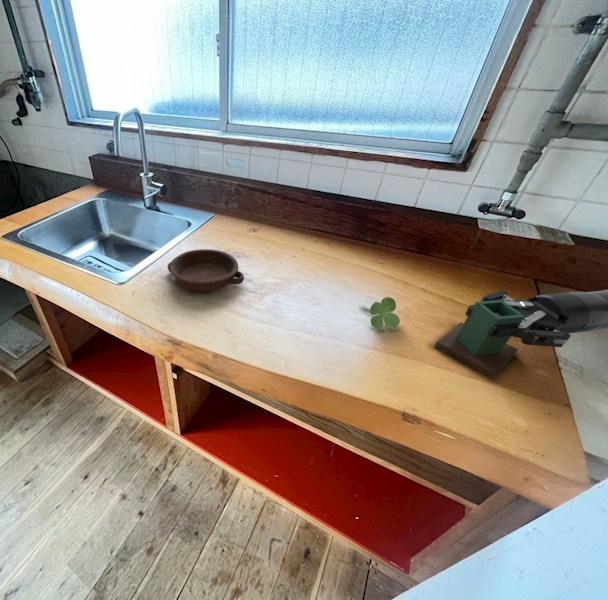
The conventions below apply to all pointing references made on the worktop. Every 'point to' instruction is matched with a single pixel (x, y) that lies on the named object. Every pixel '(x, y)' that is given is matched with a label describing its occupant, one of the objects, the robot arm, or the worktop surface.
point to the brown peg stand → (481, 363)
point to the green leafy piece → (384, 314)
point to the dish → (205, 270)
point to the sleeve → (487, 326)
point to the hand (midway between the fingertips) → (479, 321)
